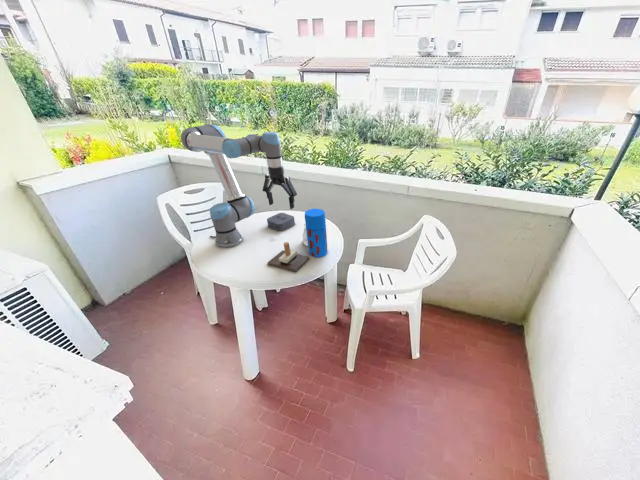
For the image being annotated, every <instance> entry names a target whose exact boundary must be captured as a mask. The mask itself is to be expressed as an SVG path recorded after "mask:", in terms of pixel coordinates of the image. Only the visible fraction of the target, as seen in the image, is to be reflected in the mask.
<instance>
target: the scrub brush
mask: <svg viewBox="0 0 640 480" xmlns="http://www.w3.org/2000/svg"><path fill="white" fill-rule="evenodd" d="M283 250H284V251H285V253H284V254H283V255H282V256H281V257H280V258H279V261H280V262H281V263H283V264H289V263H290V262H291V261H292V260H293V259H294V258H295V257H296V256H297V254H298V250H295V249H290V242H288V241H285V242H283Z"/></svg>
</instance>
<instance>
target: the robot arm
mask: <svg viewBox="0 0 640 480" xmlns="http://www.w3.org/2000/svg"><path fill="white" fill-rule="evenodd" d="M180 141H181V144H182V145H183V147H184V148H185V149H187V150H188V151H191V152H195V153H200V152H204V154H205V155H207V156H208V157H209V159H210V161H211V163H212V165H213V167H214V169H215V172H216V174H217V176H218V179H219V180H220V183H221V185H222V187H223V189H224V192H225V194H226V196H227V198H226V201H225V202H224V201H223V202H219V203H216V204H214V205H212V206H211V207H210V209H209V215H210V219H211V221H212V224H213V228H214V231H215V236H213V235H209V238H213V239H215V244H216V247H218V248H223V249H224V248H225V249H226V248H232V247H235V246H238V245H240V244H241V243H242V242H243V236H242V235H241V233H240V232H239V230H238V229H237V226H236V223H239V222H241V221H243V220H246V219H248V218H249V217H251V216H253V215H254V213H255V211H256V210H255V209H256V208H255V203H254V201H253V200H252V198H251V197H250V196H247V195H246V194H245V193H244V192H242V189H241V187H240V184H239V182H238V180H237V178H236V176H235V174H234V170H233V168H232V166H231V163H230V162H229V159H237V158H240V157H243V156H247V155H252V154H255V153H264V154H265V159H266V165H267V169H268V170H267V171H268V173H266V174H264V182H263V186H262V192H264V193H266V194H265V195H266V198H267V199H268V204H269V206H272V205H274V198H273V192H272V191H271V190H272V189H273V188H274V186H280V187H281V188H282V189H283V190H284V191H285V192H286V194H287V195H288V196H289V197H288V203H289V209H290V210H293V209H294V208H295V202H296V201H295V197H296V196H297V195H298V193H297V191H296V189H295V187H294V185H293V183H292V181H291V177H290V176H285V169H284V162H283V156H282V148H281V140H280V135H279V133H278V132H276V131H264V132H263V133H262V135H260V134H255V133H253V134H251V133H249V134H247V135H246V136H243V137H240V138H229V137H226V134H225V132H224V130H223V129H222V128H221V127H220V126H218V125H217V124H214V123H213V124H203V125H197V126H190V127H187V128H185V129H184V130H182V132H181V134H180ZM270 180H271V181H270Z"/></svg>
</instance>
